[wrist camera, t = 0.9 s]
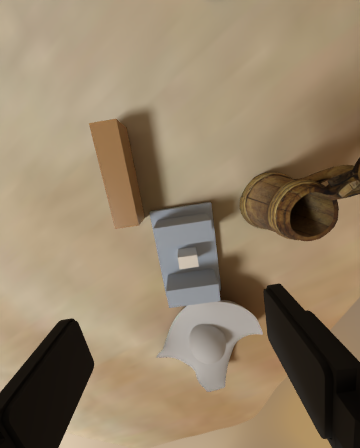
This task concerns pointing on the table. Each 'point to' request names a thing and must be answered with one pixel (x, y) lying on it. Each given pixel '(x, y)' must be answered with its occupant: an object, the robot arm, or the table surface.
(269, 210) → the wooden mug
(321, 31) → the table surface
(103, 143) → the tan wooden plank
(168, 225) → the display stand
